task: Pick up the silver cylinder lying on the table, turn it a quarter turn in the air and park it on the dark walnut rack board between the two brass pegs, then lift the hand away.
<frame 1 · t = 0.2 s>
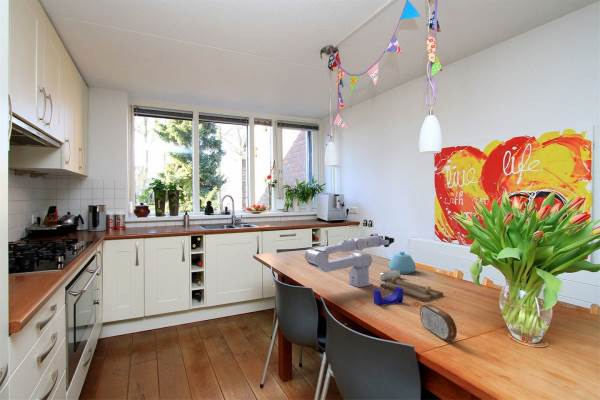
hand: (388, 239, 163), 21 cm above the table, tool horizontal, fingers open, 7 cm apart
silver cylinder: (390, 279, 162), on the table
peg rack: (410, 291, 142), on the table
sugar bowl: (402, 271, 179), on the table
speaker: (436, 334, 98), on the table
cable clip: (387, 303, 127), on the table
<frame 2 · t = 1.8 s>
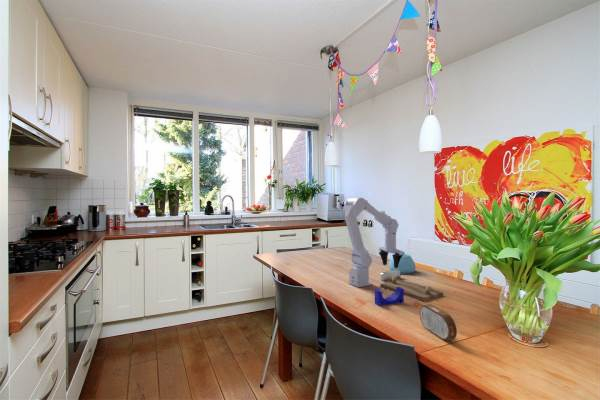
hand: (390, 266, 162), 7 cm above the table, tool pointing down, fingers open, 7 cm apart
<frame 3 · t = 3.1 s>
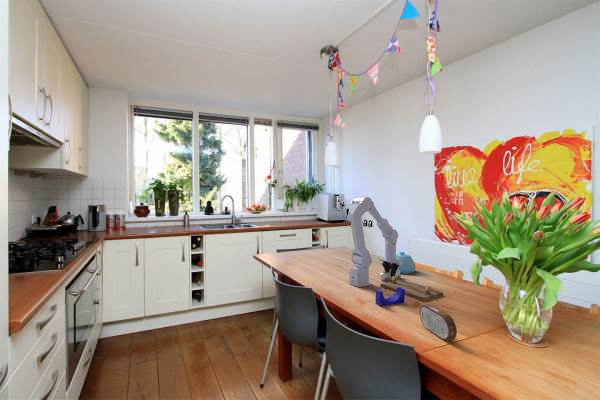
hand: (390, 276, 162), 1 cm above the table, tool pointing down, fingers closed on silver cylinder, 3 cm apart
silver cylinder: (390, 279, 162), on the table, touching gripper
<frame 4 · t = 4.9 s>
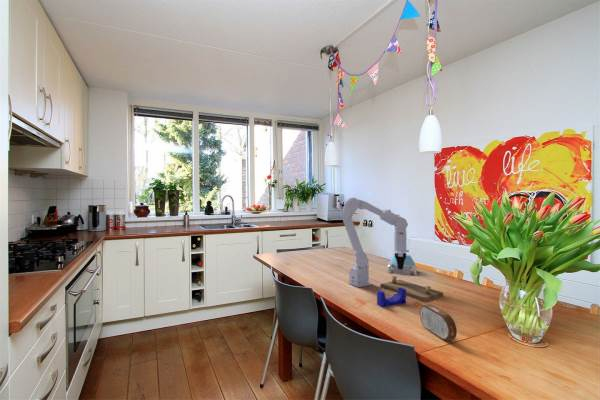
hand: (400, 268, 151), 8 cm above the table, tool pointing down, fingers closed on silver cylinder, 3 cm apart
silver cylinder: (401, 273, 151), point 6 cm above the table, touching gripper
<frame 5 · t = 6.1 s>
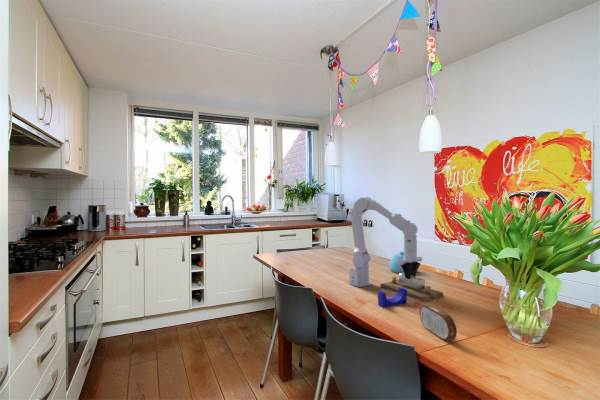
hand: (410, 278, 141), 6 cm above the table, tool pointing down, fingers closed on silver cylinder, 3 cm apart
silver cylinder: (411, 285, 141), point 3 cm above the table, touching gripper
when the fingers open (4 cm above the table, at t = 6.8 s): silver cylinder stays where it is, resting on peg rack.
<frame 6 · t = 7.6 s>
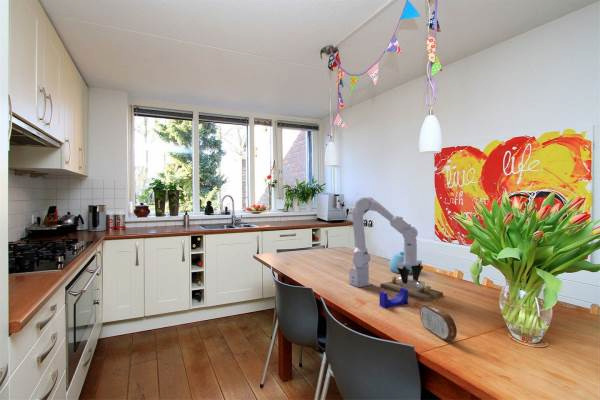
hand: (410, 281, 141), 4 cm above the table, tool pointing down, fingers open, 7 cm apart
silver cylinder: (411, 288, 141), point 1 cm above the table, touching peg rack
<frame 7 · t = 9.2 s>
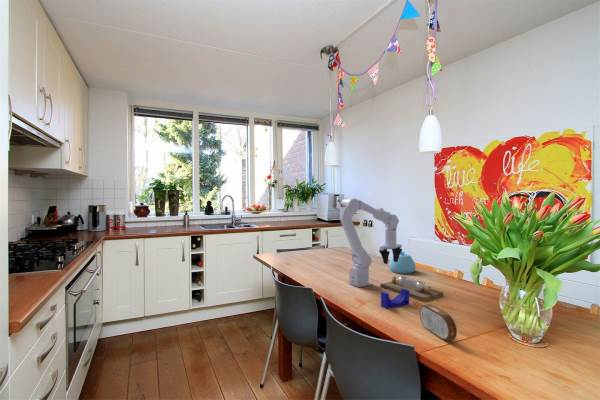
hand: (390, 262, 159), 9 cm above the table, tool pointing down, fingers open, 7 cm apart
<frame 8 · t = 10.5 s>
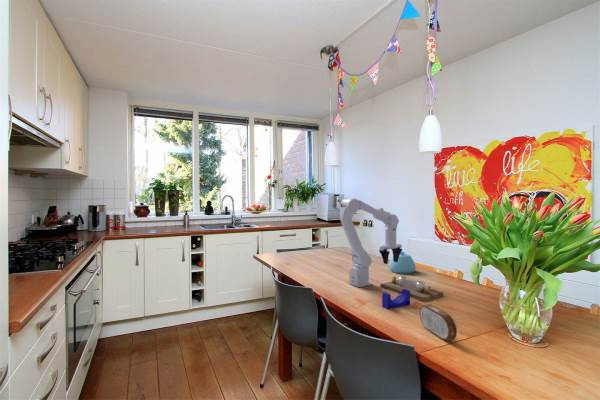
hand: (390, 262, 159), 9 cm above the table, tool pointing down, fingers open, 7 cm apart
at the end: silver cylinder 0.7 cm off-centre on the peg rack, point 1.5 cm above the peg rack's base; silver cylinder tilted 0°; the gripper is holding nothing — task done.
